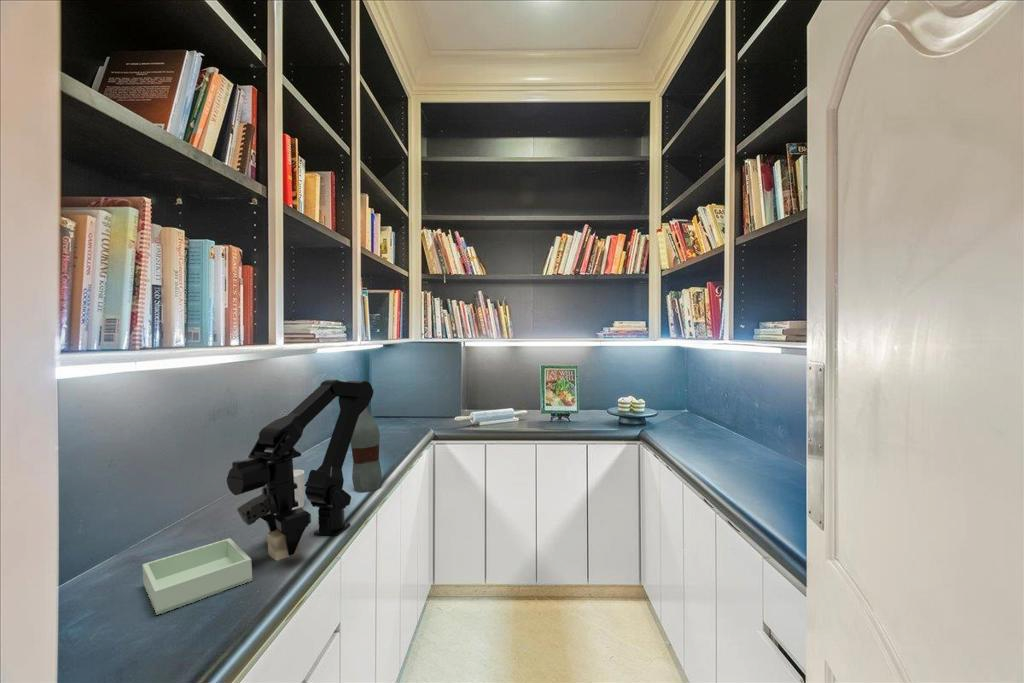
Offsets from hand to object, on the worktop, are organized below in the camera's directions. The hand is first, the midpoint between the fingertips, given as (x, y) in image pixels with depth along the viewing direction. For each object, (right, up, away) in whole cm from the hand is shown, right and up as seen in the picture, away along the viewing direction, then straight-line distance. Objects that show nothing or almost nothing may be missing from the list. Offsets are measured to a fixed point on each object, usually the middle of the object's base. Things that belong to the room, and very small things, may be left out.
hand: (283, 549), depth 107 cm
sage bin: (-11, -2, -12) cm, 17 cm away
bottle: (+5, 0, +45) cm, 45 cm away
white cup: (-12, -1, +30) cm, 32 cm away
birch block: (0, -1, 0) cm, 1 cm away
